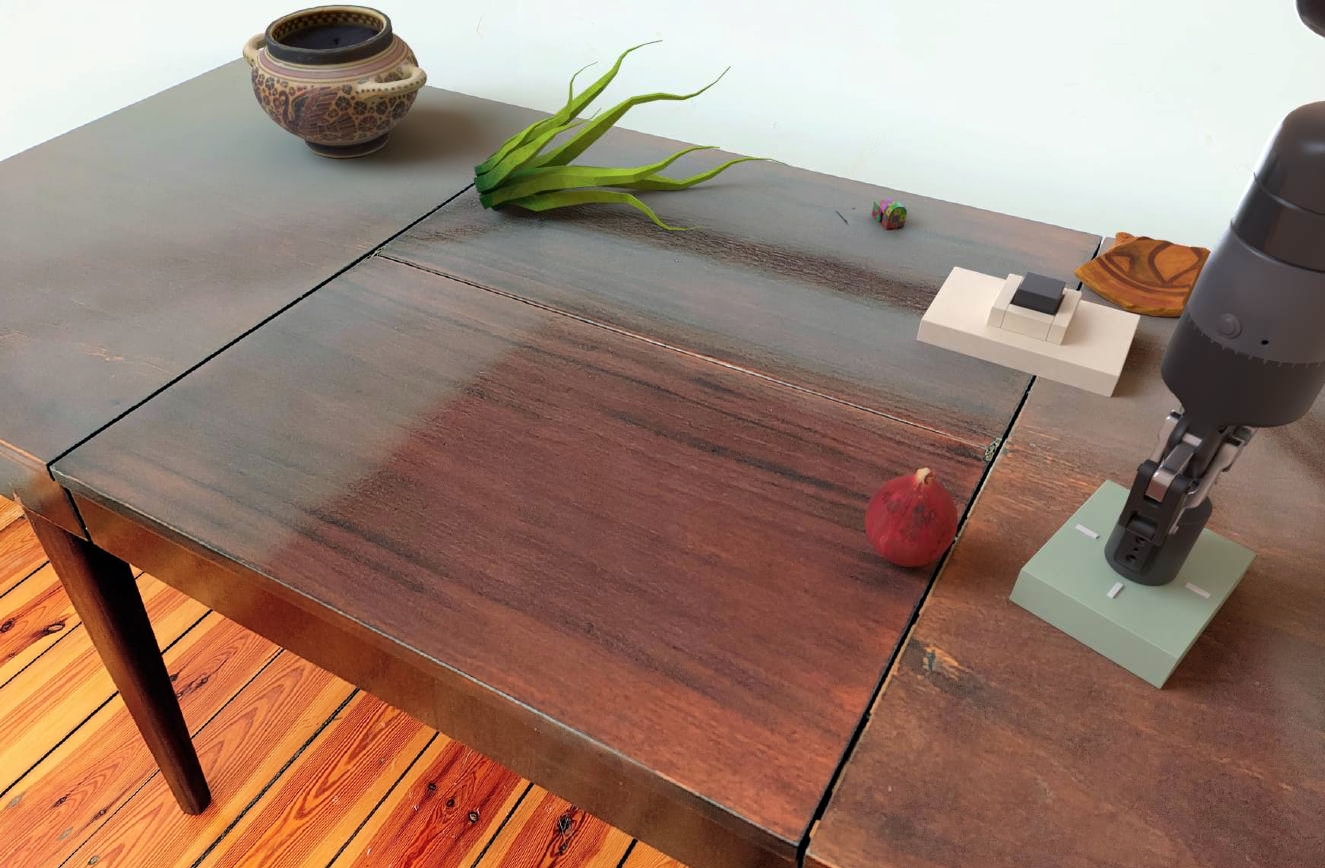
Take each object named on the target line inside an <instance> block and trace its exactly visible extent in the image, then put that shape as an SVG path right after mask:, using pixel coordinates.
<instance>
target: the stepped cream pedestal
mask: <svg viewBox="0 0 1325 868" xmlns="http://www.w3.org/2000/svg"><path fill="white" fill-rule="evenodd" d="M1024 277H1025V276H1022V275H1019V274H1016V273H1015V274H1014V273H1012V272H1011V273H1009V274H1008V276H1007V278H1006V279H1004V278H1001V277H997V276H993V275H989V274H985V273H983V272H982V273H981V272H978V271H975V270H971V269H967V268H963V267H959V266H954V267H953V269H952V270H951V272H950V273H949V275H948V277H947V278H946V280H945V281H944V283H943V284H942V286H941V287H940V289H939V291H938V293H937V294H936V296H935V297H934V299H933V301H932V302H931V304H930V305H929V306H928V308H927V310H926V311H925V313H924V315H923V316H922V318H921V320H920V324H919V328H918V331H917V335H916V341H919V342H922V343H925V344H927V345H932V346H935V347H938V348H942V349H945V350H948V351H952V352H955V353H959V354H962V355H966V356H969V357H971V358H976V359H979V360H982V361H986V362H990V363H993V364H995V365H999V366H1003V367H1006V368H1009V369H1012V370H1016V371H1020V372H1023V373H1026V374H1029V375H1032V376H1036V377H1039V378H1043V379H1047V380H1049V381H1053V382H1056V383H1060V384H1063V385H1067V386H1070V387H1072V388H1073V387H1074V388H1075V389H1079V390H1082V391H1087V392H1090V393H1094V394H1097V395H1100V396H1104V397H1107V398H1112V396H1113V393H1114V391H1115V388H1116V387H1117V384H1118V381H1119V379H1120V377H1121V374H1122V371H1123V368H1124V366H1125V362H1126V360H1127V357H1128V354H1129V351H1130V349H1131V346H1132V343H1133V339H1134V337H1135V335H1136V331H1137V329H1138V326H1139V324H1140V321H1141V317H1142V316H1141V315H1140V314H1137V313H1133V312H1129V311H1126V310H1121V309H1117V308H1113V307H1110V306H1105V305H1102V304H1098V303H1094V302H1091V301H1088V300H1083V299H1081V298H1082V296H1083V291H1080V290H1075V289H1073V288H1072V289H1071V288H1067V287H1064V290H1063V293H1062V295H1061V298H1060V301H1059V303H1058V305H1057V307H1056V309H1055V311H1054V314H1053V316H1052V315H1049V314H1045V313H1041V312H1038V311H1034V310H1030V309H1027V308H1023V307H1019V306H1016V305H1013V304H1014V300H1015V297H1016V294H1017V291H1018V288H1019V287H1020V285H1021V283H1022V281H1023V279H1024Z"/></svg>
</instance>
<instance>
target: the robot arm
mask: <svg viewBox="0 0 1325 868" xmlns="http://www.w3.org/2000/svg"><path fill="white" fill-rule="evenodd" d="M1292 2H1293V7H1294V11H1295V14H1296V16H1297V18H1298V20H1299V21H1300V23H1301V25H1303V27H1305V29H1306V30H1308V31H1309V32H1311V33H1313V34H1314V35H1316V36H1317V37H1318V38H1320V39H1323V40H1325V0H1292ZM1230 218H1231V219H1230V220H1229V222H1228V224H1227V225H1226V228H1225V229H1224V231H1223V233H1222V234H1221V236H1220V237H1219V239H1218V240H1217V242H1216V243H1215V245H1214V246H1213V248H1212V250H1210V251H1211V253H1210V254H1209V256H1208V258H1207V260H1206V262H1205V264H1204V266H1203V269H1202V271H1201V273H1200V275H1199V277H1198V280H1197V282H1196V284H1195V286H1194V288H1193V291H1192V293H1191V294H1190V296H1189V298H1188V300H1187V303H1186V306H1185V308H1184V311H1183V313H1182V315H1181V316H1179V320H1178V322H1177V323H1176V326H1175V328H1174V331H1173V333H1172V335H1171V337H1170V339H1169V342H1168V344H1167V345H1166V348H1165V351H1164V352H1163V354H1162V356H1161V358H1160V359H1161V360H1160V364H1159V370H1160V375H1161V378H1162V379H1161V380H1162V381H1163V383H1164V385H1165V386H1166V388H1167V389H1168V390H1169V391H1170V392H1171V394H1173V395H1174V396H1175V398H1176V399H1177V400H1178V401H1179V402H1180V404H1181V405H1180V408H1179V410H1176V409H1174V408H1173V409H1171V411H1170V412H1169V414H1167V416H1166V418H1165V420H1164V421H1163V423H1162V425H1161V427H1160V429H1159V431H1158V432H1157V439H1158V441H1157V444H1156V445H1155V447H1154V449H1153V451H1152V452H1151V454H1150V456H1149V458H1146V459H1145V460H1144V461H1143V462H1140V463H1139V465H1138V467H1137V468H1136V474H1135V477H1134V480H1133V483H1132V485H1131V488H1130V493H1129V496H1128V499H1127V501H1126V504H1125V507H1124V509H1123V512H1122V513H1121V515H1120V517H1119V519H1120V520H1119V523H1118V525H1119V526H1121V527H1123V528H1125V529H1126V530H1125V532H1124V534H1123V536H1122V538H1121V540H1120V542H1119V544H1118V546H1117V548H1116V550H1115V552H1114V554H1113V559H1114V561H1115V562H1116V563H1117V564H1119V565H1121V566H1123V567H1125V568H1127V569H1128V570H1130V571H1132V572H1134V573H1136V574H1138V575H1140V576H1146V575H1148V573H1149V572H1150V571H1151V570H1152V569H1153V567H1154V565H1155V564H1156V562H1157V560H1158V558H1159V556H1160V554H1161V552H1162V551H1163V549H1164V547H1165V545H1166V543H1167V541H1168V539H1169V538H1170V536H1171V535H1172V534H1175V533H1176V532H1177V530H1178V528H1179V527H1178V524H1179V523H1180V521H1181V519H1182V518H1183V516H1184V514H1185V512H1186V511H1187V509H1188V508H1195V507H1197V506H1198V505H1199V504H1200V503H1202V502H1203V501H1204V500H1205V498H1206V496H1208V495H1209V493H1210V491H1211V490H1212V488H1213V487H1214V485H1215V486H1217V484H1218V483H1219V482H1220V480H1221V477H1220V476H1221V474H1222V473H1228V472H1229V471H1230V470H1231V468H1232V467H1233V466H1234V464H1236V462H1237V460H1238V459H1240V456H1241V455H1242V452H1243V451H1244V448H1245V447H1246V446H1248V444H1249V443H1250V442H1251V441H1252V439H1253V438H1254V437H1255V435H1256V434H1257V432H1258V431H1259V429H1260V428H1261V429H1266V428H1267V429H1268V428H1278V427H1282V426H1287V425H1289V424H1292V423H1294V422H1296V421H1298V420H1300V419H1302V418H1303V417H1304V416H1305V415H1306V414H1307V413H1308V412H1309V411H1310V409H1311V408H1312V406H1313V405H1314V403H1315V401H1316V399H1317V398H1318V396H1319V395H1320V393H1321V391H1322V389H1323V388H1324V386H1325V100H1319V101H1313V102H1309V103H1305V104H1302V105H1300V106H1298V107H1296V108H1294V109H1292V110H1290V111H1289V112H1288V113H1287V114H1286V115H1284V116H1283V117H1282V118H1281V119H1280V120H1279V121H1278V123H1277V125H1275V127H1274V129H1273V130H1272V132H1271V134H1270V135H1269V137H1268V139H1267V141H1266V143H1265V145H1264V147H1263V149H1262V151H1261V153H1260V156H1259V157H1258V160H1257V161H1256V163H1255V167H1254V169H1253V171H1252V173H1251V175H1250V177H1249V180H1248V182H1247V184H1246V186H1245V189H1244V190H1243V192H1242V195H1241V197H1240V200H1239V201H1238V204H1237V206H1236V208H1235V210H1234V212H1233V215H1232V217H1230ZM1192 483H1193V484H1194V485H1196V486H1197V487H1191V484H1192Z"/></svg>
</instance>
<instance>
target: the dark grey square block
mask: <svg viewBox="0 0 1325 868" xmlns="http://www.w3.org/2000/svg"><path fill="white" fill-rule="evenodd" d="M1023 277H1024V279H1023V281H1022V283H1021V285H1020V287H1019V288H1018V291H1017V294H1016V297H1015V300H1014V304H1013V305H1016V306H1019V307H1023V308H1027V309H1030V310H1034V311H1038V312H1041V313H1045V314H1049V315H1052V316H1053V314H1054V311H1055V309H1056V307H1057V305H1058V303H1059V301H1060V298H1061V295H1062V293H1063V290H1064V288H1066V284H1067V281H1065V280H1061V279H1058V278H1054V277H1049V276H1045V275H1042V274H1039V273H1034V272H1030V271H1027V272H1026V274H1025V275H1024V276H1023Z"/></svg>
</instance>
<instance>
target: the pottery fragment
mask: <svg viewBox="0 0 1325 868" xmlns="http://www.w3.org/2000/svg"><path fill="white" fill-rule="evenodd" d="M1114 237H1115V241H1114V243H1113V244H1112V246H1111V247H1109V248H1108V249H1107V250H1106V251H1105V252H1104V253H1102V254H1100V255H1098V256H1097V257H1094V258H1093V259H1091V260H1089V261H1087V262H1086V263H1084V264H1081V265H1080V266H1079V267H1077V268H1076V269H1075V270H1074V271H1073V274H1074V276H1075V277H1076V278H1077V279H1078V280H1079V281H1080V282H1081V283H1082V284H1083V285H1085V286H1086V287H1088V288H1089V289H1090V290H1092V291H1093V292H1094V293H1096V294H1098V295H1099V296H1100V297H1102V298H1104V299H1105V300H1107V301H1108V302H1111V304H1112V303H1113V305H1115V306H1118V307H1119V308H1121V309H1122V310H1123V311H1125V312H1129V313H1134V314H1139V315H1140V314H1141V315H1147V316H1150V317H1164V318H1165V317H1166V318H1167V317H1181V315H1182V313H1183V311H1184V308H1185V306H1186V304H1187V302H1188V299H1189V297H1190V295H1191V293H1192V291H1193V288H1194V286H1195V284H1196V282H1197V280H1198V277H1199V275H1200V273H1201V271H1202V269H1203V266H1204V264H1205V262H1206V260H1207V258H1208V256H1209V254H1210V253H1211V251H1212V250H1209V249H1208V248H1206V247H1201V246H1187V245H1183V244H1178V243H1175V242H1171V241H1169V240H1165V239H1154V238H1152V237H1149V236H1146V235H1139V236H1134V234H1131V233H1128V232H1125V231H1117V232H1116V233H1115V236H1114Z"/></svg>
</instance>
